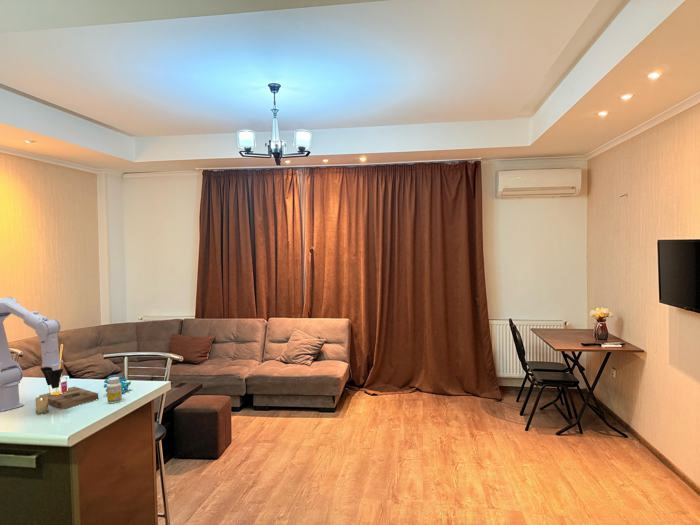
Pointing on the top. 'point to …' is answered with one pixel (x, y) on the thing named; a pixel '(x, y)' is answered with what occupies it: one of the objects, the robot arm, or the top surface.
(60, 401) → the jig plate
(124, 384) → the gear
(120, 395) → the supplement bottle
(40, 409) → the cylinder
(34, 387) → the top surface
